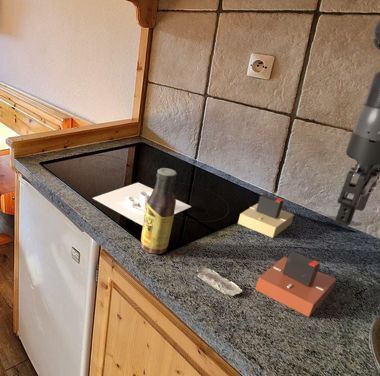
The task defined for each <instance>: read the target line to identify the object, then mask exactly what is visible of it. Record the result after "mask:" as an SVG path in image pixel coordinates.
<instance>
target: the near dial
mask: <svg viewBox="0 0 380 376" xmlns="http://www.w3.org/2000/svg"><path fill="white" fill-rule="evenodd" d="M286 258H287V261H286V264H285V267H284V270H283V274H284V275H286V276H288V277H290V278H292V279H294V280H296V281H298V282H300V283H302V284H304V285H305V286H307V287H309V286H310V285H311V284H313V283H314V280H315V278H316V275H317V272H319V269H320V266H321V264H320V262H319V261H317V260H312V259H311V258H309V257H306V256H304V255H301V254H300V253H297V252H296V251H293V252H291V253H289V254H288V255H287V257H286Z"/></svg>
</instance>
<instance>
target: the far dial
mask: <svg viewBox="0 0 380 376" xmlns="http://www.w3.org/2000/svg"><path fill="white" fill-rule="evenodd" d="M284 201H285V200H283V199H282V198H276V197H274V196H271V195H268V194H265V193H263V194H262V195H260V196H259V198H258V206H257V210H256V212H259V213H262V214H264V215H267V216H269V217H272V218H275V219H276V218H277V217H279V215H280V212H281V210H282V208H283V206H284Z"/></svg>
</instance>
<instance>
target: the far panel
mask: <svg viewBox="0 0 380 376" xmlns="http://www.w3.org/2000/svg"><path fill="white" fill-rule="evenodd" d="M257 206H258V203H256V204H254V205H252V206H249V208H247V209H245V210H244V211H242V212H240V213H239V217H238V221H237V224H238V225H240V226H243V227H245V228H248V229H250V230H252V231H255V232H257V233H260V234H262V235H265V236H267V237H269V238H272V239H273V238H275V237H276V236H278V235H279V234H280V233H282V232H283V231H284V230H286V229H287V228H288V227H289V226H291V225H292V223H293V220H294V216H295V213H291V212H288V211H286V210H283V209H281V212H280V215H279V217H277V218H276V219H275V218H272V217H269V216H267V215H264V214H262V213H259V212H256V210H257Z"/></svg>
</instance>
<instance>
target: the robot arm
mask: <svg viewBox="0 0 380 376" xmlns="http://www.w3.org/2000/svg"><path fill="white" fill-rule="evenodd" d="M372 42H373V45H374V47H375V48H376V49H377V50H379V51H380V18H379V19H378V21H377V22H376V24H375V26H374V28H373V32H372ZM345 154H346V156H347V157H348V158H350V159H352V160H355V161H356V162H357V163H355V165H354V166H353V167H350V170H349V171H348V172H347V173H346V178H345V180H344V183H343V185H342V188H341V192H340V194H339V197H338V198H337V204H340V205H339V208H338V211H337V214H336V216H335V222H336V223H338V224H341V225H344V226H350V224H351V223H352V221H353V217H354V216H355V212H356V211H360V212H362V211H364V210H365V209H366V206H367V203H368V201H369V198H370V196H371V194H372V193H373V192H374V190H375V189H374V188H376V187H377V186H378V185H379V180H380V70H377V72H375V73H374V75H373V76H372V79H371V81H370V84H369V88H368V90H367V93H366V96H365V99H364V103H363V105H362V107H361V109H360V111H359V113H358V115H357V117H356V120H355V123H354V127H353V130H352V133H351V135H350V138H349V141H348V144H347V147H346V150H345ZM349 194H351V195H353V197H352V199H351V198H348V196H349Z"/></svg>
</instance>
